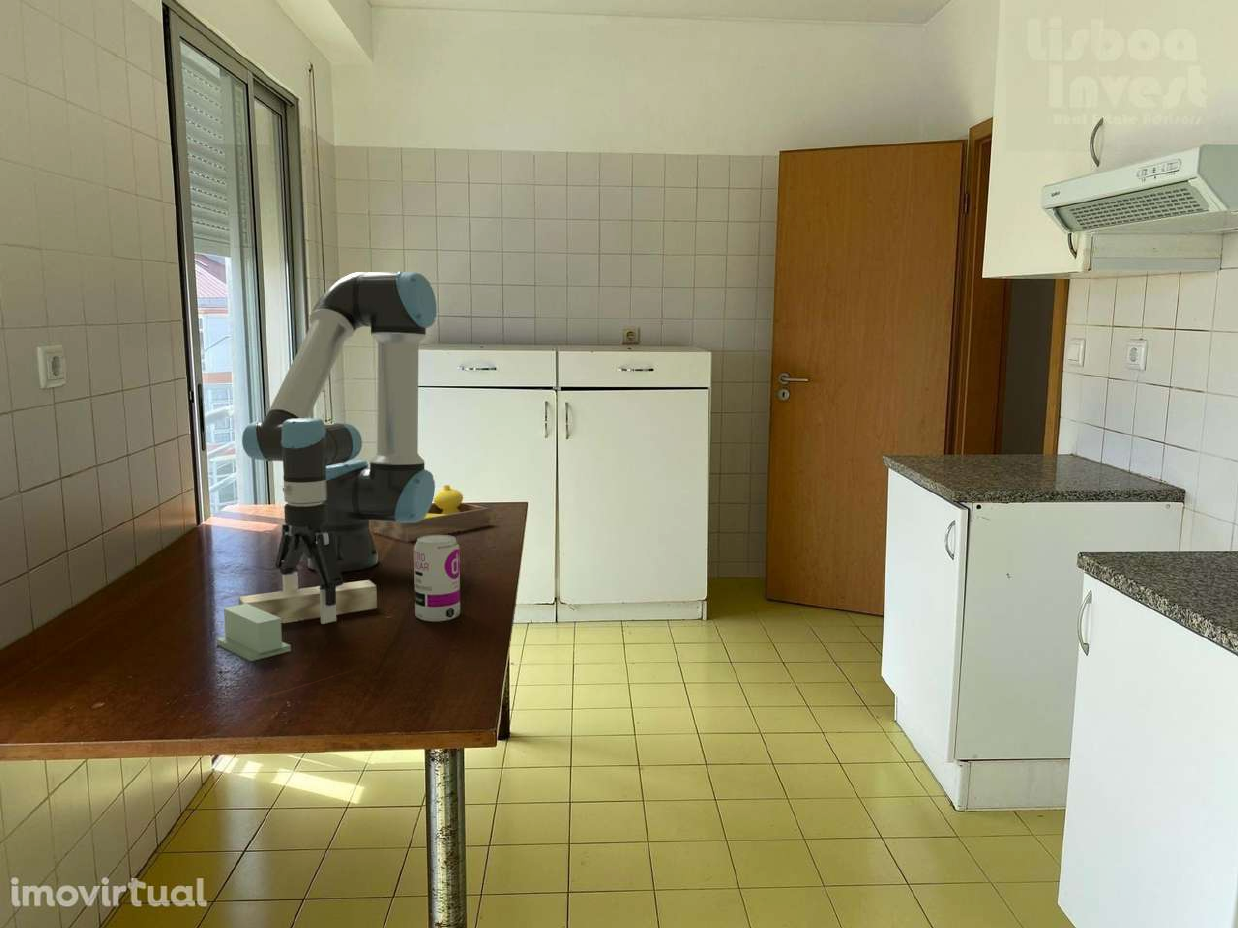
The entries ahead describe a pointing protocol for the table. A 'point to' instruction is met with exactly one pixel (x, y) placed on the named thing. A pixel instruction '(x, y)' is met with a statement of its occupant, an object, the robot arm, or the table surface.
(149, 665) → the table surface
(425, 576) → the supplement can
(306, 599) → the beam
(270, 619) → the stepped block
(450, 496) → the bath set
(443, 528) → the tray
